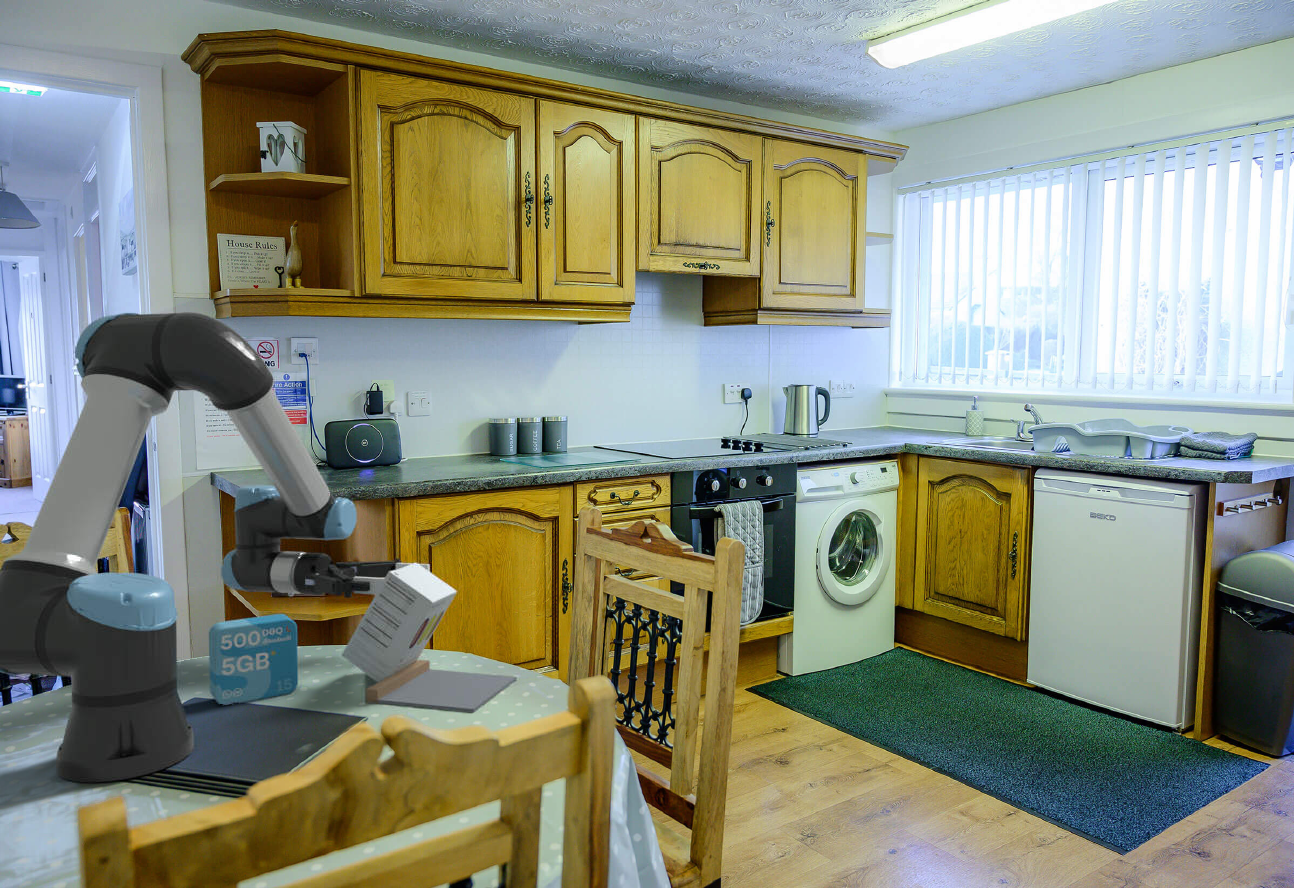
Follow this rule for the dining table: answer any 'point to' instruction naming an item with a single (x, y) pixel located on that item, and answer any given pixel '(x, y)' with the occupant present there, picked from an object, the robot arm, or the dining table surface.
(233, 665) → the data package
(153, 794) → the dining table surface
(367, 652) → the supplement box
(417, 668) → the topple mat
